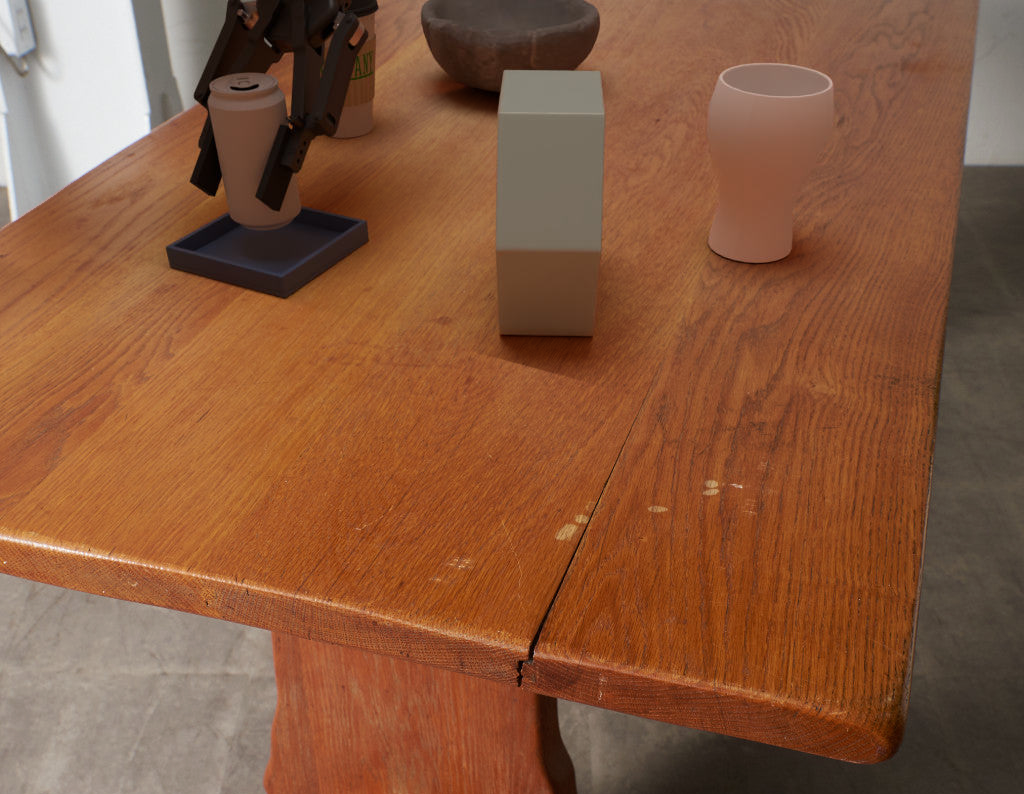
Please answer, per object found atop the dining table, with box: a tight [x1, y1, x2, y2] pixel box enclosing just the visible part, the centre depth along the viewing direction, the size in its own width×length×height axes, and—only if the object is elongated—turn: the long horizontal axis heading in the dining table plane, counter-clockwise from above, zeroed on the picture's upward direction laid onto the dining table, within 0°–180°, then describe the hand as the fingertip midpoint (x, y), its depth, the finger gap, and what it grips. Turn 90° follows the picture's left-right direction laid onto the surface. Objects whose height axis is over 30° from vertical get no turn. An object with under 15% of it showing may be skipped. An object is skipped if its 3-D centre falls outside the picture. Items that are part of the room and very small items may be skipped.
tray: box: [165, 205, 370, 299], centre depth 93 cm, size 13×13×2 cm
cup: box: [706, 62, 835, 264], centre depth 90 cm, size 11×11×15 cm
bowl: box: [420, 0, 601, 93], centre depth 128 cm, size 23×22×10 cm
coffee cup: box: [320, 0, 380, 139], centre depth 115 cm, size 10×10×15 cm
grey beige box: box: [494, 70, 606, 337], centre depth 81 cm, size 17×8×21 cm
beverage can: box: [208, 73, 302, 230], centre depth 88 cm, size 6×6×12 cm
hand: (234, 196), depth 87 cm, fingers closed on beverage can, 6 cm apart
